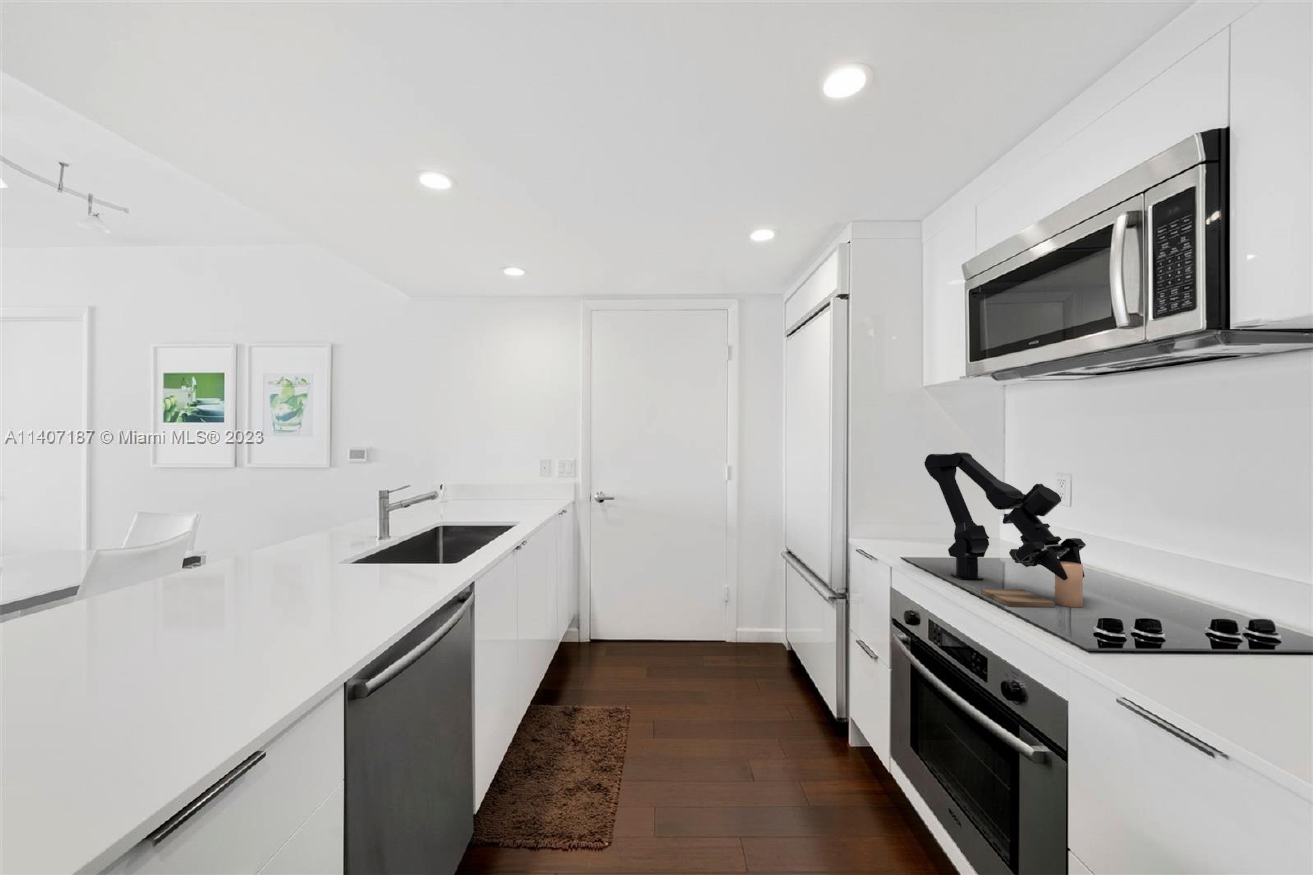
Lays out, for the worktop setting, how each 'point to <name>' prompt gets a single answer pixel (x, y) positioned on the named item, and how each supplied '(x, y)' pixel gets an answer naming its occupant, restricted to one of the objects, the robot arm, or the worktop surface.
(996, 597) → the walnut board
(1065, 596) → the terracotta canister
